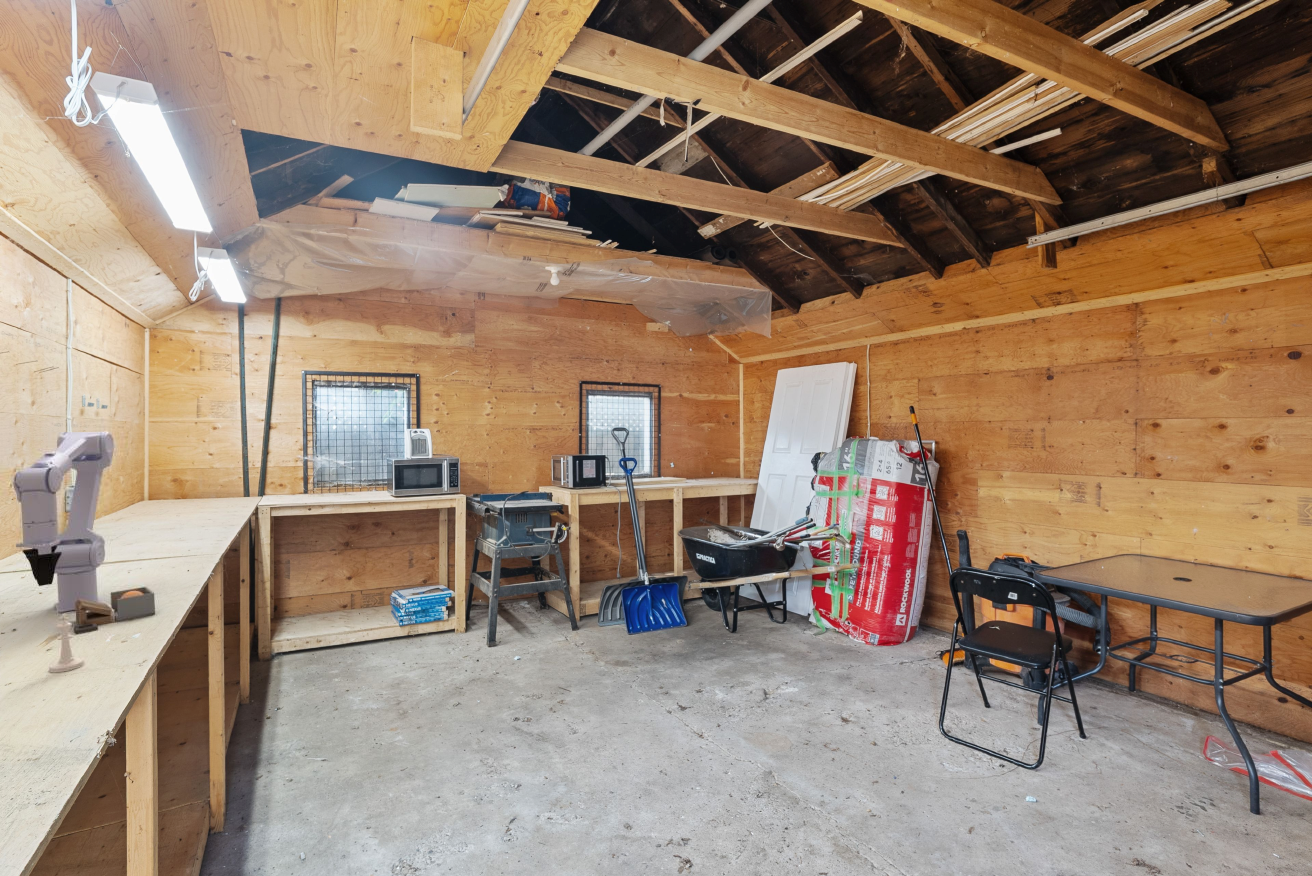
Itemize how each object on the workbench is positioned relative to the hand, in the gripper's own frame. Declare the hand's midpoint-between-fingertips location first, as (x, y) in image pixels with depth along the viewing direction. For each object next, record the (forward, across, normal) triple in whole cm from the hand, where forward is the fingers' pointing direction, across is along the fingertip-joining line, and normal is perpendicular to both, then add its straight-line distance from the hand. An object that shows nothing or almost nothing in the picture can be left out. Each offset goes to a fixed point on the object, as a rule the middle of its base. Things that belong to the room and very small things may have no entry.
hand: (43, 581), depth 144 cm
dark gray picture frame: (+10, +11, +6) cm, 16 cm away
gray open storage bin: (+10, +4, +14) cm, 18 cm away
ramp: (+10, +4, +8) cm, 14 cm away
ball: (+7, +4, +15) cm, 17 cm away
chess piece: (+10, +36, 0) cm, 37 cm away
